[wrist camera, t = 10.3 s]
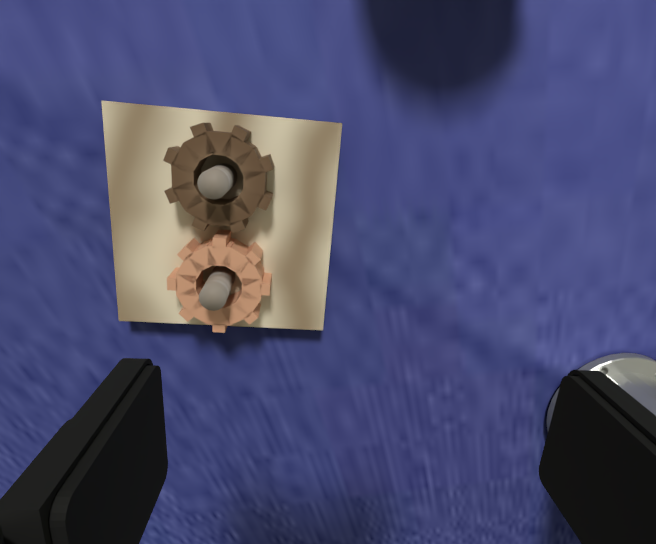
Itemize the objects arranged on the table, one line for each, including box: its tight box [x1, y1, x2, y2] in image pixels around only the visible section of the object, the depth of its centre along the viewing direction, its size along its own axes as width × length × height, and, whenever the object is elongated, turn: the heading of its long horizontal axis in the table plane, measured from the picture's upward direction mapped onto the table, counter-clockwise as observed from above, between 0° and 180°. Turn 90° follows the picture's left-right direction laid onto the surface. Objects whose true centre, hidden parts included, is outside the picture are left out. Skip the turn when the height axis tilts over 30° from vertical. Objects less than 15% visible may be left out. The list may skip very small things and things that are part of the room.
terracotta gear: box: [167, 230, 272, 333], centre depth 31 cm, size 7×7×2 cm
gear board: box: [102, 101, 342, 330], centre depth 30 cm, size 16×16×6 cm
